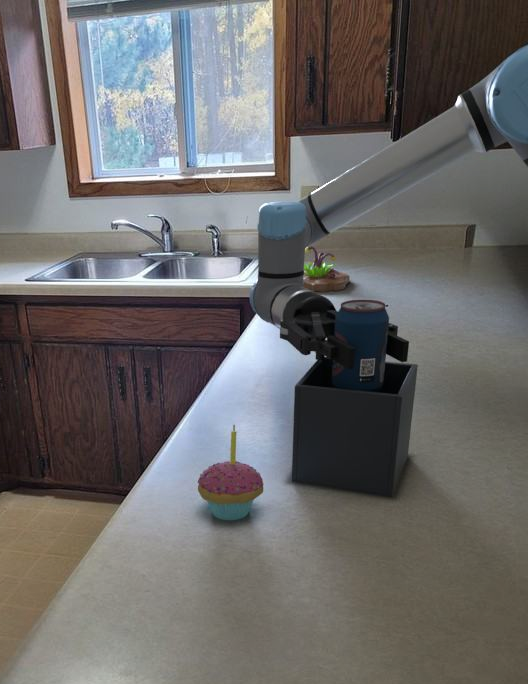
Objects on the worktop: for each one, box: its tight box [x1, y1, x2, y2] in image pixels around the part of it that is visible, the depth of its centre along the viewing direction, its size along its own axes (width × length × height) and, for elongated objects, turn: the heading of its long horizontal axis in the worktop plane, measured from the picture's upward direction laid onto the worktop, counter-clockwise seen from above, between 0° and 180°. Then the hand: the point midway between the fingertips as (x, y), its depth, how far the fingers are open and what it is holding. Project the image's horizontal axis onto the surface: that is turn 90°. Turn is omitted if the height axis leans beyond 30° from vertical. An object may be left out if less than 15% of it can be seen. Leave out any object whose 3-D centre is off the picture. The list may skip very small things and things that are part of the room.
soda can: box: [332, 299, 390, 392], centre depth 99 cm, size 7×7×12 cm
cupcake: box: [197, 424, 264, 521], centre depth 95 cm, size 9×8×12 cm
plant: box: [303, 246, 351, 293], centre depth 220 cm, size 20×20×11 cm
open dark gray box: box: [291, 356, 419, 498], centre depth 104 cm, size 14×14×15 cm
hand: (378, 355), depth 95 cm, fingers closed on soda can, 7 cm apart
